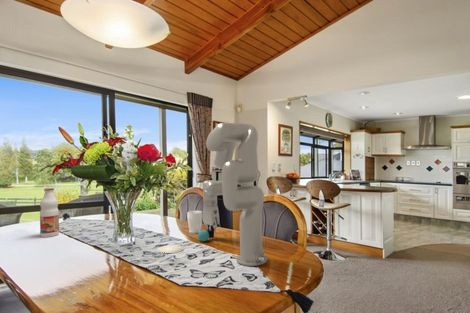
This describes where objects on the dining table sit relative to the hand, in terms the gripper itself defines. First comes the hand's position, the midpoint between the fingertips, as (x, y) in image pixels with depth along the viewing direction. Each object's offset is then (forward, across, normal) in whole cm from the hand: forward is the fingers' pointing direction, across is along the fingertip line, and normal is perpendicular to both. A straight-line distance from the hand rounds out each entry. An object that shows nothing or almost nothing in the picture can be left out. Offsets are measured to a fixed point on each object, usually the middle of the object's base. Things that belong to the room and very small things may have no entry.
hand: (210, 237), depth 154 cm
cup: (+1, +20, -2) cm, 20 cm away
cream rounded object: (+1, -1, +24) cm, 24 cm away
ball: (-2, 0, +5) cm, 5 cm away
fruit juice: (+2, +72, +67) cm, 98 cm away
